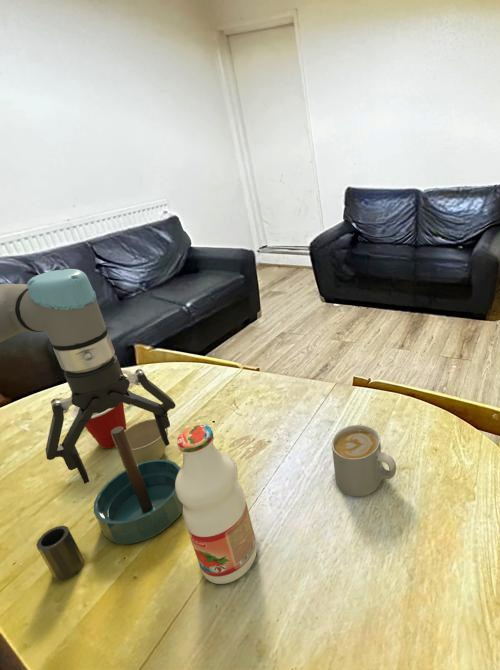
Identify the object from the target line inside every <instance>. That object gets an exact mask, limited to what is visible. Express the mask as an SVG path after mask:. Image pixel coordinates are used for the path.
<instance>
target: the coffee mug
mask: <svg viewBox="0 0 500 670" xmlns="http://www.w3.org/2000/svg"><path fill="white" fill-rule="evenodd" d="M381 445H382V443H381V436H380V435H379V432H377V430H376V429H375V428H372V427H371V426H368V425H364V424H353V425H348V426H346V427H343V428H341V429H340V430H338V432H336V433H335V435H334V436H333V438H332V440H331V450H332V451H331V452H332V459H333V467H334V477H335V483H336V484H335V485H336V486H337V488H338V490H339V491H341V492H342V493H343V494H344V495H347V496H350V497H364V496H367V495H370V494H372V493H373V492H375V491H376V490H377V489H378V488H379V487H380V485H381V484H382V481H383V480H391V479H393V478H394V476H395V474H396V472H397V463H396V461H395V459H394V458H393V457H392V456H391V455H390V454H388V453H385V452H382V446H381ZM383 463H385V464H386V465H387V466H388V469H386V468H385V467H384V465H383Z"/></svg>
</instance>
